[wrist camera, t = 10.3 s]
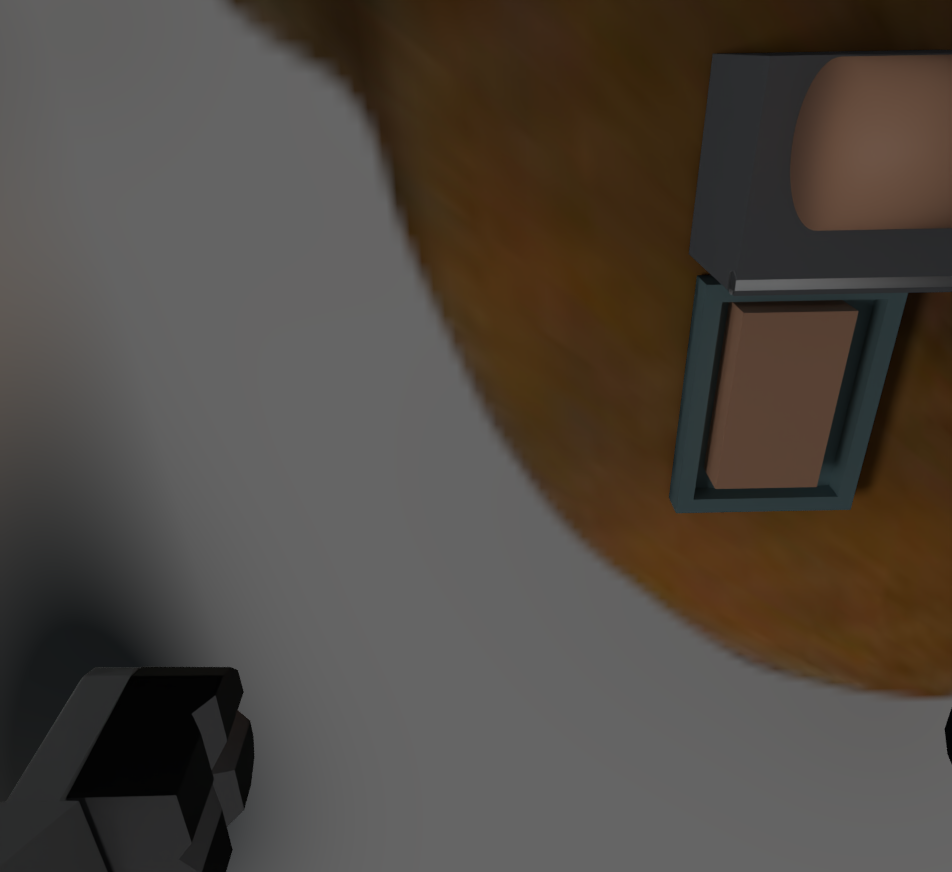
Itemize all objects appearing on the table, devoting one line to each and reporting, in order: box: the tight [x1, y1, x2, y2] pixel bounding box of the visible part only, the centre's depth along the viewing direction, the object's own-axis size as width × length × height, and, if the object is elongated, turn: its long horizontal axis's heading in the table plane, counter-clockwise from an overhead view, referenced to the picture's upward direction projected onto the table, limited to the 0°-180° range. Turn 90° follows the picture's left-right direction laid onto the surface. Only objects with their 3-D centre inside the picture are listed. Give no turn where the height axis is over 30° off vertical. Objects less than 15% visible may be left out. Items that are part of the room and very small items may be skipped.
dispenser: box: [689, 50, 952, 296], centre depth 26 cm, size 8×9×11 cm
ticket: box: [704, 300, 859, 489], centre depth 35 cm, size 9×5×2 cm, turn 1°
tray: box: [669, 275, 908, 513], centre depth 36 cm, size 12×9×2 cm
